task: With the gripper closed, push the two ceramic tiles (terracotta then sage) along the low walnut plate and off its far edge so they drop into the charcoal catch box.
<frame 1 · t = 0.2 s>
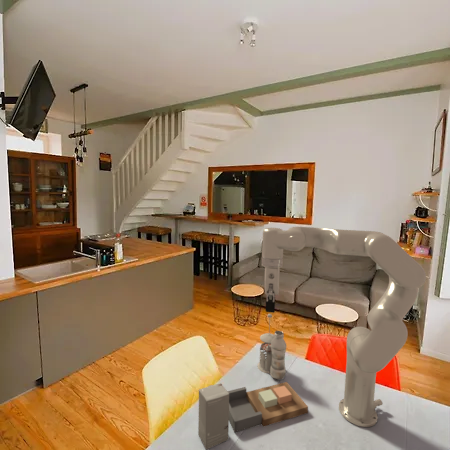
hand: (270, 306, 105), 36 cm above the table, tool pointing down, fingers open, 9 cm apart
catch box: (240, 413, 101), on the table
tile far: (267, 401, 103), point 2 cm above the table, touching walnut plate
skincare box: (213, 437, 91), on the table
walnut plate: (275, 405, 105), on the table
metal bottle: (277, 377, 121), on the table
french press: (267, 368, 127), on the table
tile near: (281, 397, 105), point 2 cm above the table, touching walnut plate
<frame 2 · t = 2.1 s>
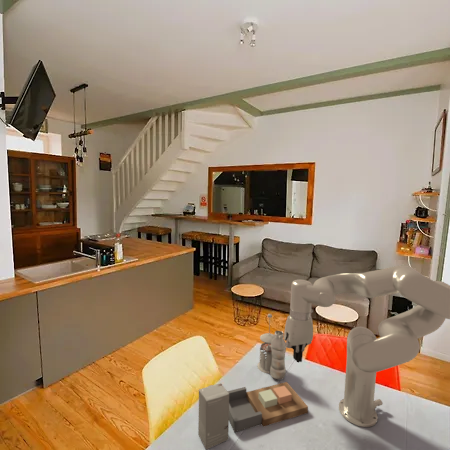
hand: (297, 360, 106), 16 cm above the table, tool pointing down, fingers closed
nothing on the table moved.
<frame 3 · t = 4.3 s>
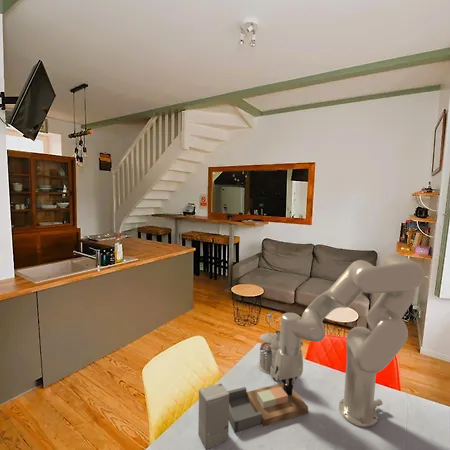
hand: (287, 392, 106), 4 cm above the table, tool pointing down, fingers closed
tile far: (266, 401, 103), point 3 cm above the table, touching tile near
tile near: (278, 398, 105), point 3 cm above the table, touching gripper, tile far, walnut plate
everything else where it was.
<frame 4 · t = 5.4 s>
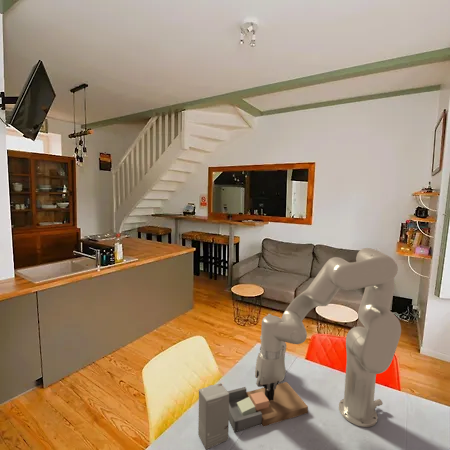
hand: (269, 397, 103), 4 cm above the table, tool pointing down, fingers closed
tile far: (246, 410, 101), point 1 cm above the table, tilted 12°
tile near: (259, 403, 102), point 3 cm above the table, touching gripper
everything else where it was.
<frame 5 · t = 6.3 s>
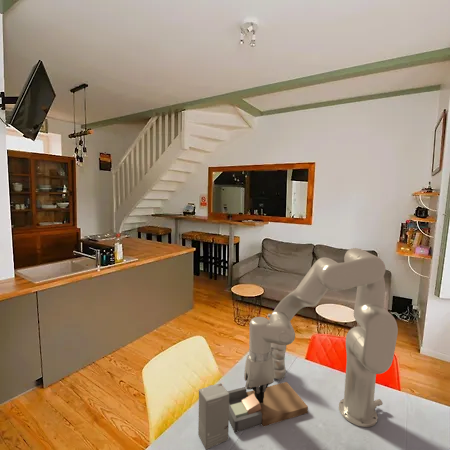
hand: (259, 400, 102), 4 cm above the table, tool pointing down, fingers closed
tile far: (238, 415, 99), point 1 cm above the table, touching catch box, tile near
tile near: (252, 407, 101), point 2 cm above the table, tilted 18°, touching gripper, tile far, walnut plate
everything else where it was.
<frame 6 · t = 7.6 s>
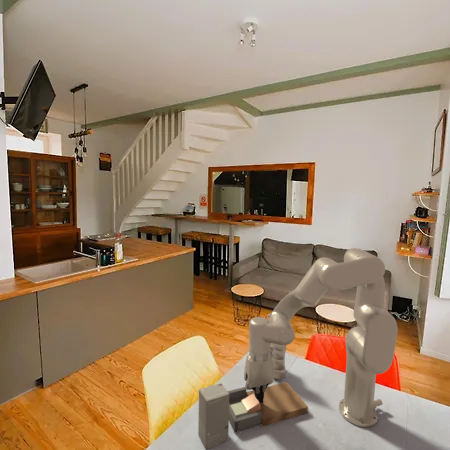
hand: (259, 400, 102), 4 cm above the table, tool pointing down, fingers closed
nothing on the table moved.
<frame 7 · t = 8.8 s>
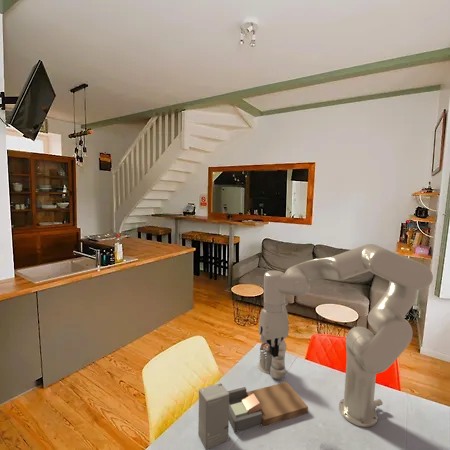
hand: (274, 354, 101), 21 cm above the table, tool pointing down, fingers closed
tile near: (252, 407, 101), point 2 cm above the table, tilted 19°, touching tile far, walnut plate
everything else where it was.
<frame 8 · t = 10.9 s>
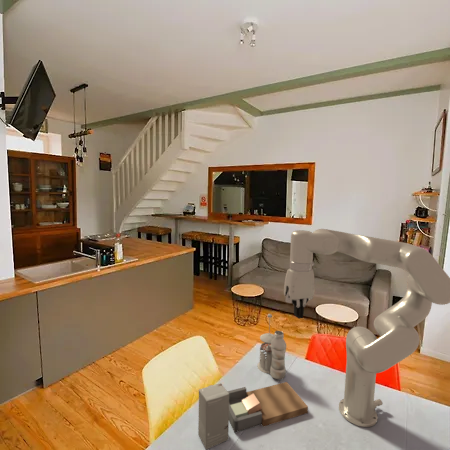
hand: (298, 316, 100), 35 cm above the table, tool pointing down, fingers closed
nothing on the table moved.
at the end: tile near inside the target area (5.4 cm from its centre), point 2.2 cm above the table; tile far inside the target area (0.7 cm from its centre), point 0.6 cm above the table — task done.
